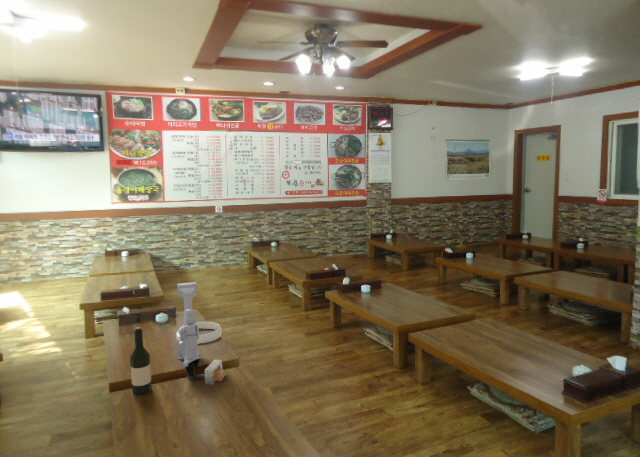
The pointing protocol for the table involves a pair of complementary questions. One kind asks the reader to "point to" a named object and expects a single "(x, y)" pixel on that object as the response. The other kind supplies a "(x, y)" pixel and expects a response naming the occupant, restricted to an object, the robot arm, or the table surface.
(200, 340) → the white ring
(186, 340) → the robot arm
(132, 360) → the wine bottle
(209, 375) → the grey stone bridge block
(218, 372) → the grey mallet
